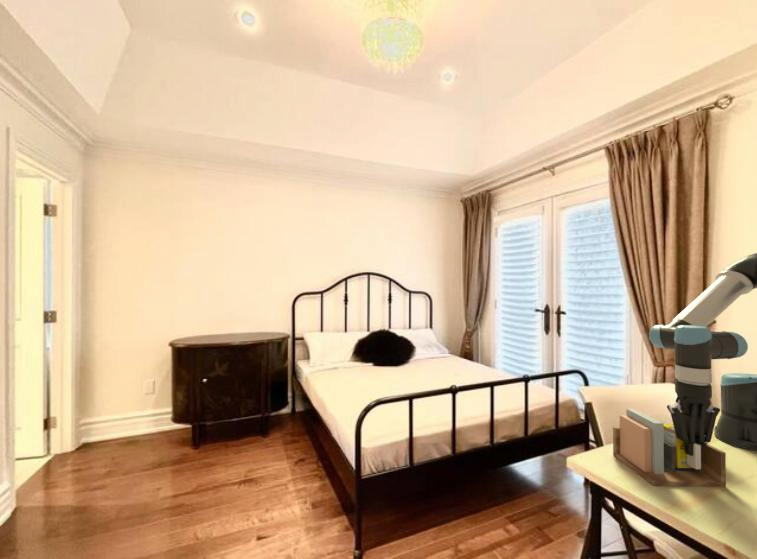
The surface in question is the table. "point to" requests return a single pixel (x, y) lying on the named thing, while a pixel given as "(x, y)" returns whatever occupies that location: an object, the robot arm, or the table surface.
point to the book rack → (706, 476)
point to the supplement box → (677, 448)
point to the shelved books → (642, 441)
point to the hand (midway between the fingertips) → (693, 466)
